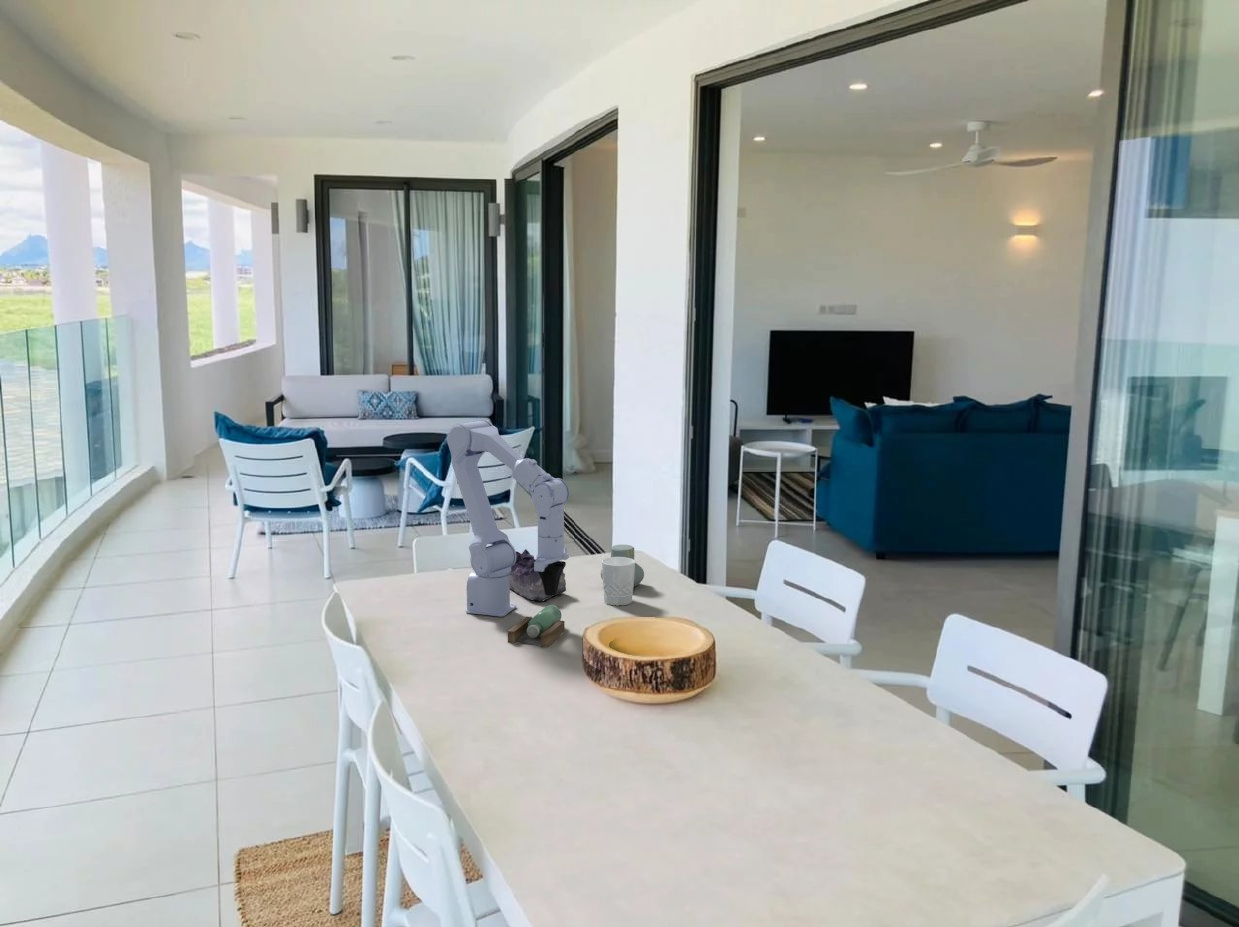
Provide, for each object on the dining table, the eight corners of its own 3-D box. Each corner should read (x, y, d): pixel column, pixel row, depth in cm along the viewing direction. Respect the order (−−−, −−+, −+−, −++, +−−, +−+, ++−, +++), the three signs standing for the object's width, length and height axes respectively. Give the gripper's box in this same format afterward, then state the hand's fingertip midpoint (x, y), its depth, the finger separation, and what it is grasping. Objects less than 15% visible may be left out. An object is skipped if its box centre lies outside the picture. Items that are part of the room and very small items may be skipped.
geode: (487, 586, 253) (490, 547, 253) (526, 584, 260) (529, 546, 260) (531, 603, 237) (535, 561, 237) (571, 601, 245) (575, 560, 244)
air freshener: (649, 585, 255) (649, 546, 253) (632, 593, 248) (632, 553, 246) (612, 578, 261) (613, 540, 259) (595, 586, 254) (595, 547, 252)
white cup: (634, 606, 237) (635, 565, 236) (601, 606, 237) (601, 565, 236) (634, 596, 245) (635, 556, 243) (602, 596, 245) (602, 556, 244)
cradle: (507, 642, 213) (507, 630, 212) (526, 627, 222) (526, 616, 222) (547, 647, 210) (547, 635, 210) (564, 631, 220) (564, 620, 219)
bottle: (541, 621, 225) (521, 638, 213) (544, 602, 224) (524, 619, 212) (559, 626, 223) (540, 643, 212) (562, 607, 223) (543, 624, 211)
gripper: (556, 544, 213) (556, 606, 215) (579, 528, 226) (579, 587, 229) (524, 541, 215) (525, 602, 217) (549, 526, 228) (549, 584, 231)
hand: (550, 594), depth 223 cm, fingers closed
